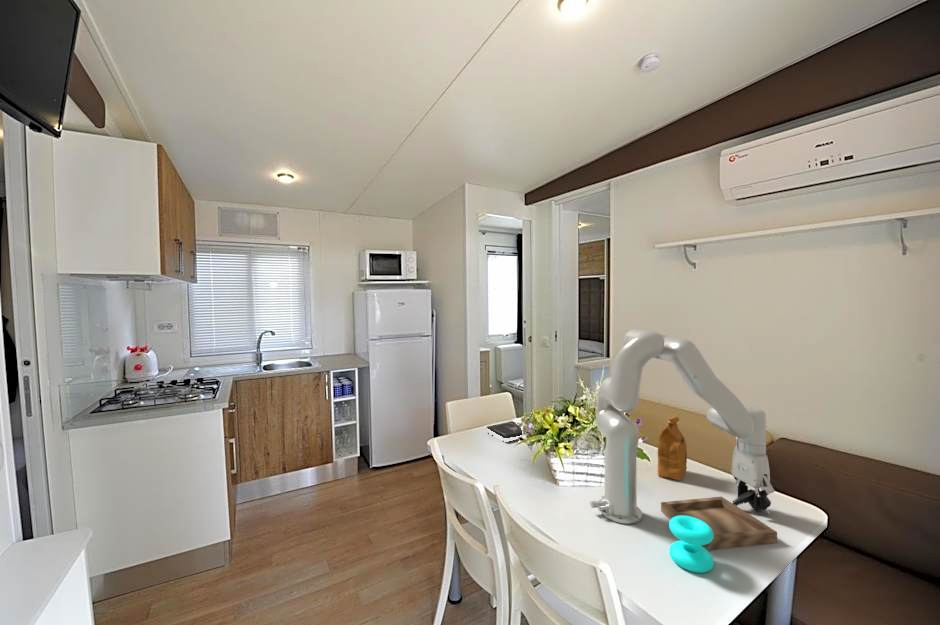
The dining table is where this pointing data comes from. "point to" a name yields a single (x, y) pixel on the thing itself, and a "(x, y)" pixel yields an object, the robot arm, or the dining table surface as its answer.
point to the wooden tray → (723, 522)
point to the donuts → (691, 543)
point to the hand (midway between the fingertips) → (750, 502)
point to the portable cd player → (506, 429)
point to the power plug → (751, 500)
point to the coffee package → (672, 451)
